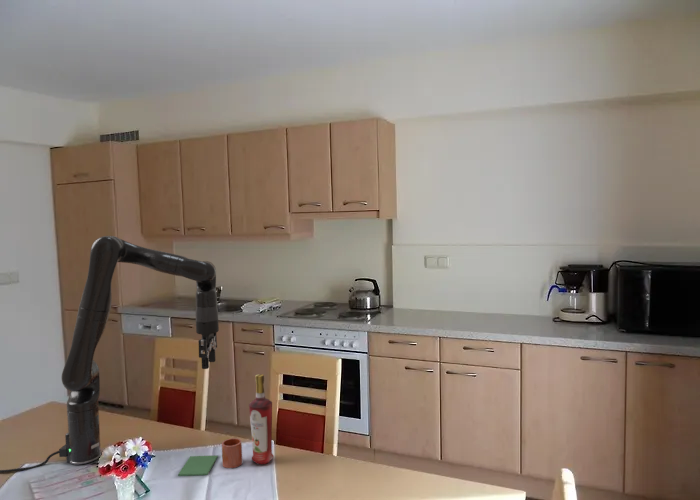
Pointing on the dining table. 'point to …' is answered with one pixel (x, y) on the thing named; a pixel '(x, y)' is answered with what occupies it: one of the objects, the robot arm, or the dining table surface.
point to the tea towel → (198, 465)
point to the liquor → (261, 424)
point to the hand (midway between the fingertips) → (208, 365)
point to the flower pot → (232, 453)
